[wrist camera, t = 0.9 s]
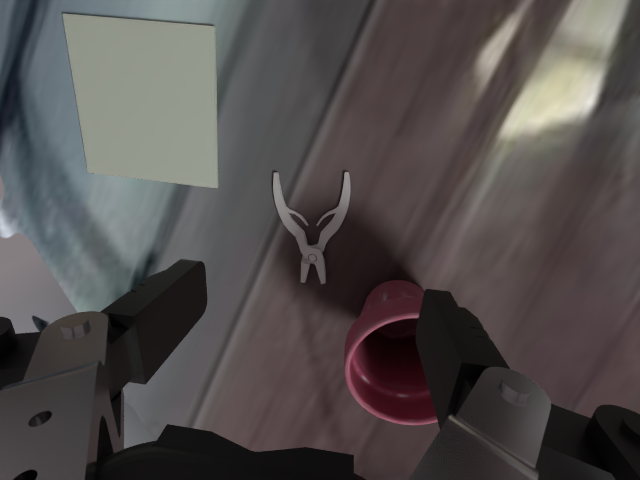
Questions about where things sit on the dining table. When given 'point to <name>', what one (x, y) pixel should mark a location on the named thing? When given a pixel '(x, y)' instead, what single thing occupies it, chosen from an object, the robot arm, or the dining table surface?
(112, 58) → the mat
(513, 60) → the dining table surface
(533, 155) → the dining table surface
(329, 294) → the dining table surface
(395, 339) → the plant pot
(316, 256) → the pliers
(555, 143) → the dining table surface
